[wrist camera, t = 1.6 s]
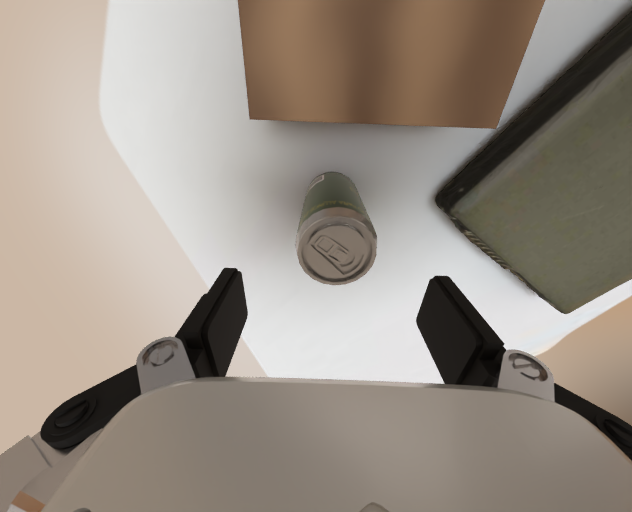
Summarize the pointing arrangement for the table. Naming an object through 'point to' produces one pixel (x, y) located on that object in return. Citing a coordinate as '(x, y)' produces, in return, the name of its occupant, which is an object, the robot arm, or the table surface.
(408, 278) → the table surface
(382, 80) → the wooden block
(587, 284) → the network switch
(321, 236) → the beer can
